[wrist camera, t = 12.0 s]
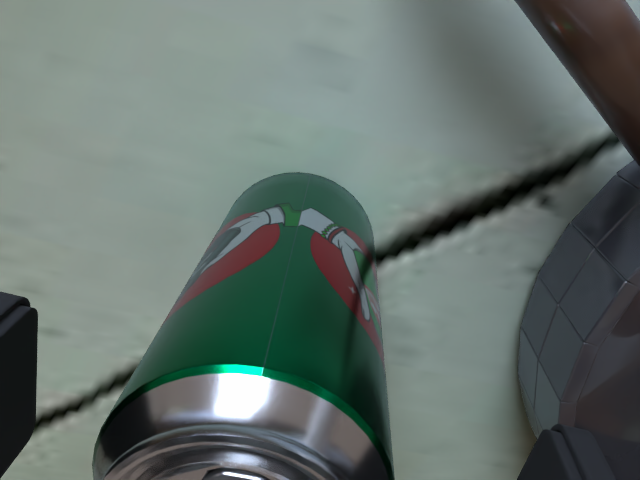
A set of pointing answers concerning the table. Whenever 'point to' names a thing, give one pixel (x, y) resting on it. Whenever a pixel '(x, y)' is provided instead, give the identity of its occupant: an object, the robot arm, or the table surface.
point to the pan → (590, 328)
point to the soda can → (265, 353)
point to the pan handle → (597, 56)
